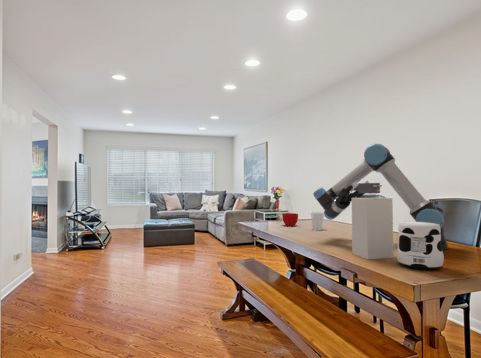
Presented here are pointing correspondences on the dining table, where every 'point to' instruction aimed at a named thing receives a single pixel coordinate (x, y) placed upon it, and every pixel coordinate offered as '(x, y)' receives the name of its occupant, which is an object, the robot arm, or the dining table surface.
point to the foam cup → (317, 220)
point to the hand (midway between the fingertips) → (362, 183)
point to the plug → (368, 188)
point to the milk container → (420, 245)
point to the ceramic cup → (290, 219)
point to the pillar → (372, 227)
